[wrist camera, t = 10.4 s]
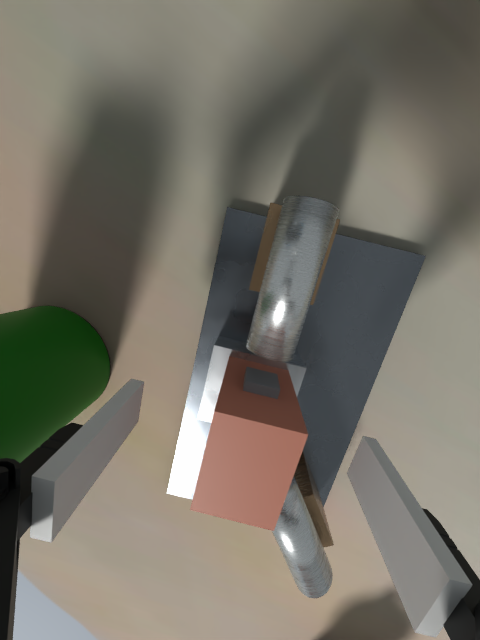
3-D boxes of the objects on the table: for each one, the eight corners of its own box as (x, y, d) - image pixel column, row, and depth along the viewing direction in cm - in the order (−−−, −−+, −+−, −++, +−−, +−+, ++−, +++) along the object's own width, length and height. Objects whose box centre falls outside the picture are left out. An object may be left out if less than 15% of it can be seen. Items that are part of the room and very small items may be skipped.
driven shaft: (249, 434, 22) (246, 514, 15) (291, 421, 22) (308, 498, 15) (278, 502, 24) (288, 603, 17) (319, 492, 23) (346, 592, 16)
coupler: (231, 348, 18) (216, 400, 11) (290, 363, 18) (312, 423, 11) (211, 430, 20) (187, 518, 13) (265, 444, 20) (270, 539, 13)
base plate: (228, 209, 19) (209, 172, 11) (418, 256, 19) (534, 252, 11) (169, 486, 25) (131, 587, 17) (312, 521, 25) (337, 639, 17)
